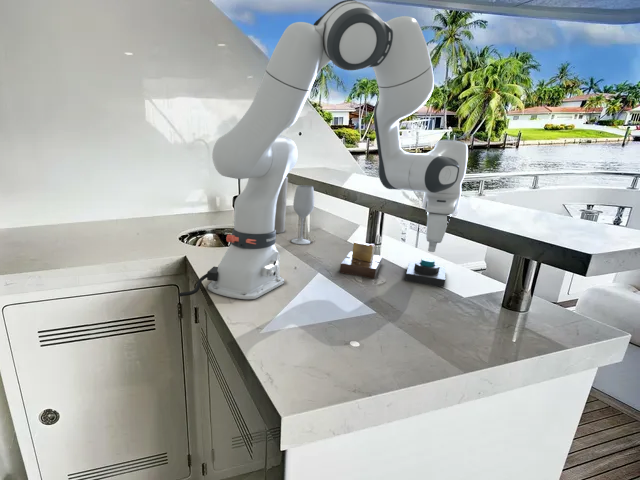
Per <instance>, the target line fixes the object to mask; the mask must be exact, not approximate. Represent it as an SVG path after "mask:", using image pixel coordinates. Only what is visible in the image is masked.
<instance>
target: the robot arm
mask: <svg viewBox="0 0 640 480" xmlns="http://www.w3.org/2000/svg"><path fill="white" fill-rule="evenodd" d="M331 62H332V63H333V65H335V66H336V67H337V68H339V69H341V70H343V71H351V72H352V71H360V70H363V69H368V68H372V70H373V72H374V74H375V79H376V83H377V87H378V92H379V93H378V97H379V98H378V101H377V102H376V103H375V106H374V109H373V110H374V111H373V122H374V123H373V125H374V132H375V133H374V134H375V140H376V146H377V147H376V148H377V154H378V178H379V181H380V183H381V184H382V186H383V187H384V188H385V189H387V190H398V191H401V190H403V191H409V192H416V193H417V192H420V193H424V194H423V198H422V199H423V200H422V205H421V207H422V208H423V209H424V210H425V213H426V212H427V214H426V217H427V219H426V235H425V236H426V237H425V238H426V242H428V249H427V251H428V252H430V253H435V252H436V249H437V245H438V244H441V243H442V242H443V239H444V237H445V234H446V231H447V228H448V225H447V223H448V224H449V222H448V221H447V215H451V216H452V215H454V213H456V212H457V211H458V210H459V205H460V201H461V196H462V182H463V180H464V179H465V177H466V171H467V165H468V158H469V148H468V145H467V143H465V142H463V141H460V140H454V139H441V140H437V141H436V143H435V145H434V148H432V150H430V151H428V152H426V153H418V152H417V153H415V152H408V151H405V150H404V149H402V146H401V137H400V136H401V135H400V128H399V127H400V125H399V124H400V121H401V120H403V119H404V118H408V117H409V116H411V115H412V114H414V113H416V112H417V111H418V110H420V109H421V108H422V107H423V106H424V105H425V104H426V103H427V101H428V100H429V99H430V98H431V96H432V93H433V91H434V88H435V87H434V86H435V76H434V70H433V63H432V60H431V55H430V51H429V47H428V45H427V41H426V38H425V36H424V33H423V30H422V28H421V26H420V24H419V22H418V20H417V19H416V18H414V17H412V16H408V15H402V16H397V17H394V18H391V19H389V20H387V21H384V20H383V19H382V18H381V17H380V16H379V15H378V14H377V13H376V12H375V11H373V10H372V9H371V7H370V6H368V5H367V4H365V3H364V2H361V1H357V0H341V1H339V2H337V3H335V4H334V5H332V6H331V7H330V8H329V9H328V10H327V11H326V12H325V13H324V14H322V15H321V16H320V17H319V18H318V19H316V21H314V23H313V24H312V23H310V22H306V21H296V22H292V23H291V24H289V25H288V26H287V27H286V28H285V30H284V31H283V33H282V35H281V36H280V38H279V40H278V42H277V43H276V45H275V47H274V50H273V51H272V54H271V56H270V58H269V60H268V63H267V65H266V68H265V71H264V74H263V77H262V79H261V82H260V83H259V87H258V89H257V92H256V93H255V96H254V98H253V100H252V102H251V104H250V106H249V107H248V109H247V110H246V112H245V113H244V114H243V116H242V117H241V119H240V120H239V121H238V122H237V123H236V125H235V126H234V127H232V128H231V129H230V130H229V131H228V132H227V133H225V134H224V135H222V136H220V137H219V138H218V139H217V140H216V141H215V142H214V145H213V148H212V154H211V155H212V157H211V158H212V163H213V166H214V168H215V170H216V171H217V173H218V174H219V175H221V176H223V177H226V178H230V179H236V180H245V179H247V182H246V185H245V187H244V189H243V190H242V191H241V193H239V195H238V196H237V197H236V198H235V199H234V204H233V205H234V209H233V211H234V213H233V214H234V215H233V228H232V231H231V234H227V235H226V237H225V239H226V242H227V243H230V245H229V247H228V248H227V250H226V252H225V253H224V255H223V257H222V258H221V260H220V262H219V263H218V266H212V267H211V268H210V269H208V270H207V272H206V273H205V274H204V275H201V277H200V278H199V279H198V281H197V283H196V286H195V288H194V289H193V290H189V291H183V292H179V293H178V297H187V296H192V295H194V294H196V293H198V292H199V290H200V288H201V284H202V282H203V281H204V280H207V281H210V282H209V283H208V285H207V290H209V291H210V292H211V293H214V294H217V295H220V296H223V297H228V298H232V299H238V300H239V299H241V300H256V299H258V298H259V297H262V296H263V295H265V294H267V293H269V292H271V291H273V290H274V289H276V288H278V287H280V286H282V285H284V284H285V279H284V278H283V277H281V273H280V271H281V267H280V264H281V263H280V261H281V260H280V252H279V251H278V249H277V248H276V245H275V244H276V239H277V233H276V230H275V229H274V228H275V214H276V204H277V199H278V195H279V192H280V189H281V186H282V184H283V182H284V179H285V178H286V177H288V175H289V173H290V172H292V170H293V169H294V167H295V166H296V164H297V162H298V155H299V154H298V147H297V145H296V143H295V141H294V140H293V139H291V138H290V137H288V136H285V135H282V134H283V132H285V131H286V130H287V129H290V128H291V127H292V126H293V125H294V124H295V123H296V122H297V120H298V118H299V116H300V114H301V112H302V110H303V108H304V105H305V103H306V101H307V100H308V99H307V98H308V96H309V94H310V92H311V90H312V88H313V86H314V83H315V80H316V78H317V76H318V75H319V73H320V72H321V70H322V69H323V68H324V67H325V65H327V64H329V63H331Z"/></svg>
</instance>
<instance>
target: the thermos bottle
mask: <svg viewBox="0 0 640 480" xmlns="http://www.w3.org/2000/svg"><path fill="white" fill-rule="evenodd" d="M288 183H289V177H288V176H286V178H285V179H284V182H283V184H282V186H281V189H280V192H279V195H278V199H277V204H276V214H275V228H274V229H275V230H276V234H282V233H284V232H285V231H286V230H285V229H286V214H287V213H286V212H287V198H288V197H287V196H288Z"/></svg>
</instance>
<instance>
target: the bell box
mask: <svg viewBox="0 0 640 480" xmlns="http://www.w3.org/2000/svg"><path fill="white" fill-rule="evenodd" d="M404 281H405V282H406V281H407V282H412V283H419V284H425V285H430V286H437V287H443V288H445V284H446V266H441V265H440V264H438V263H436V262H435V264H434V267H427V266H423V265H421V260H417V261H415V262H413V261H408V265H407V270H406V273H405V278H404Z"/></svg>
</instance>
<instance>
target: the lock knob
mask: <svg viewBox="0 0 640 480" xmlns="http://www.w3.org/2000/svg"><path fill="white" fill-rule="evenodd" d="M375 249H376V244H375V243H367V242H362V241H357V240H356V241H354V242H353V246H352V252H353V253H352V258H354V259H359V260H363V261H367V262H372V261H373V257H374V255H375V251H376V250H375Z"/></svg>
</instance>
